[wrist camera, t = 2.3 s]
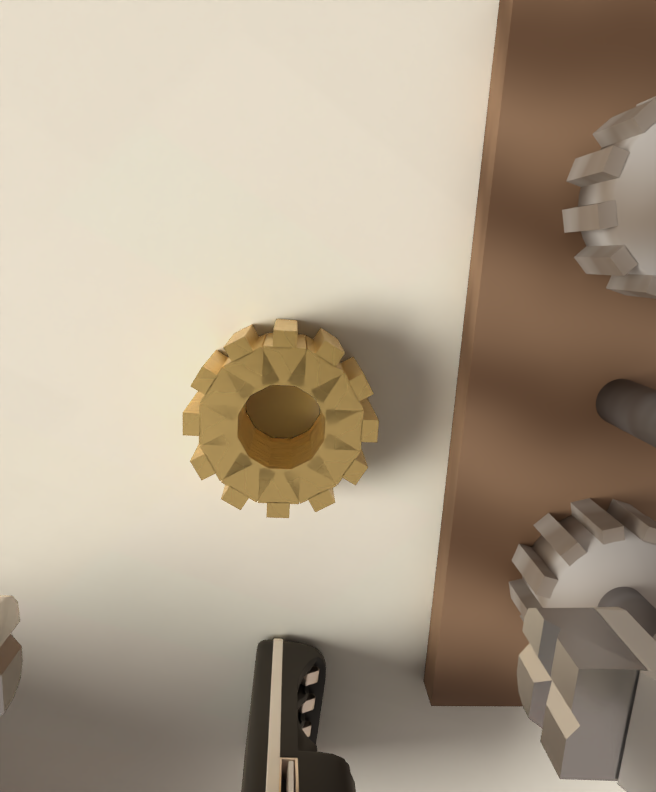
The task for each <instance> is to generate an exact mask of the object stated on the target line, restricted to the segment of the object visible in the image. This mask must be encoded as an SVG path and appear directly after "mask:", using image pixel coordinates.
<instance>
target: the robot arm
mask: <svg viewBox="0 0 656 792" xmlns="http://www.w3.org/2000/svg"><path fill="white" fill-rule="evenodd" d="M19 622H20V616H19V606H18V601H17V600H16V599H15V598H14V597H13V596H10V595H0V715H2V714H4V713H5V711H6V709H7V708H8V706H9V705H10V703H11V701H12V700H13V698H14V696H15V693H16V690H17V687H18V684H19V681H20V678H21V671H22V662H23V659H22V646H21V645H20V644H19V643H18V642H17V640H16V639H15V638H14V637H13V636H12V635H11V632H12V631H13V630H14V628H15V627H16V626H17V625H18V623H19ZM522 631H523V633H524V634H525V636H526V638H527V639H528V641H529V644H528V645H527V647H526V648H525V649H524V650H523V651H522V652H521V653H520V654H519V657H518V666H517V682H518V692H519V695H520V699H521V702H522V705H523V707H524V710H525V712H526V714H527V716H528V718H529V719H530V720H532V721H533V722H534V723H536V724H537V725H539V726H540V727H541V728H542V735H541V741H540V742H541V743H542V745H543V747H544V749H545V751H546V753H547V755H548V757H549V759H550V761H551V763H552V765H553V767H554V769H555V771H556V773H557V774H558V776H559V778H560V779H577V780H607V781H618V783H617V784H618V785H619V786H620V787H622V788H623V789H624V790H625V791H626V792H656V641H655V640H654V639H653V638H652V637H651V636H650V635H649V634H648V633H647V632H646V631H645V630H644V629H643V628H642V627H641V625H640V624H639V623H638V622H637V621H636V620H635V619H634V618H633V617H632V616H631V615H630V614H629V613H628V612H627V611H626V610H624V609H622V608H619V607H589V608H528V610H527V613H526V615H525V617H524V623H523V630H522Z"/></svg>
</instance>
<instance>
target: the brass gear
mask: <svg viewBox="0 0 656 792" xmlns="http://www.w3.org/2000/svg"><path fill="white" fill-rule="evenodd" d="M297 333H298V330H297V320H287V319H276V322H275V326H274V330H273V333H265V334H263V335H261V336H258V334H257V332H256V330H255V328H254V327H253V325H250V326H248V327H246V328H244V329H242V330H240V331H238V332H236V333H234V334H233V336H232V337H231V338H230V339H229V341H228V342H227V343H226V345H225V346H224V349H225V351H226V353H227V354H228V356H229V357H227V356H225V355H224V354H222V353H220V352H219V351H217V350H216V351H215V352H214V353H213V354H212V356H211V357H210V358H209V359H208V360H207V362H206V363H205V364H204V365H203V367H202V368H201V370H200V371H199V373H198V375H197V376H196V378H195V379H194V381H193V383H192V384H191V387H193V388H194V389H196V390H198V392H197V393H196V395H195V396H194V398H193V399H192V400H191V402H190V403H189V405H188V406H187V407H186V409H185V410H184V412H183V435H191V436H199V445H198V447H197V449H196V451H195V452H194V454H193V456H192V458H191V460H190V462H191V463H192V465H193V467H194V468H195V470H196V472H197V473H198V475H199V477H200V478H201V480H203V479H205V478H207V477H209V476H211V475H213V474H215V473H216V475H217V477H218V478H219V480H220V481H221V480H222V481H221V482H222V483H224V484H225V487H224V491H223V494H222V497H221V499H222V500H224V501H225V502H227V503H229V504H231V505H232V506H234V507H236V508H238V509H240V510H241V509H242V507H243V506H244V504H245V503H246V501H247V500H248V498H250V499H252V500H253V501H255V502H257V501H258V503H267V517H273V518H289V508H290V504H299V502H300V504H301V503H303V502H305V501H307V500H309V502H310V504H311V505H312V507H313V509H314V511H315V512H317V511H319V510H321V509H323V508H325V507H327V506H329V505H331V504H333V503H335V498H334V492H333V487H335V486H336V484H337V485H338V484H339V482H340V481H341V479H342V478H344V479H346V480H347V481H349V482H351V483H352V484H354V485H356V484H357V482H358V481H359V480H360V478H361V477H362V475H363V474H364V472H365V471H366V470H367V468H368V466H367V463H366V460H365V457H364V454H363V451H362V449H361V442H377V437H378V425H379V420H378V418H377V416H376V414H375V412H374V410H373V408H372V406H371V404H370V402H369V400H368V399H367V397H369V396H371V395H373V392H372V390H371V388H370V386H369V384H368V382H367V380H366V378H365V376H364V374H363V372H362V370H361V369H360V367H359V365H358V363H357V362H356V360H355V358H354V357H351V358H349V359H347V360H345V361H343V362H340V360H341V358H342V357H343V355H344V354H345V352H344V350H343V348H342V346H341V345H340V343H339V341H338V339H337V338H336V337H334V336H333V335H331V334H329V333H328V332H326V331H325V330H323V329H322V328H320V329H319V331H318V332H317V334H316V335H315V337H314V338H313V339H311V338H310V337H308V336H307V335H306V336H305V334H297ZM270 385H288V386H296V387H298V388H299V389H301V390H303V391H304V392H306V393H308V394H309V395H311V396H312V397H314V398H315V399H316V401H317V403H318V405H319V407H320V415H319V416H318V418H317V419H316V421H315V422H314V424H313V425H312V427H311V428H310V430H308V431H306V432H304V433H302V434H300V435H298V436H296V437H294V438H292V439H284V438H271V437H269V436H268V435H266V434H264V433H263V432H261V431H259V430H258V429H256V428H255V427H254V425H253V423H252V422H251V420H250V418H249V416H248V414H247V413H246V401H247V400H248V398H249V397H250V395H252V394H254V393H256V392H258V391H260V390H262V389H264V388H266V387H268V386H270Z"/></svg>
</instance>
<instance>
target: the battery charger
mask: <svg viewBox="0 0 656 792" xmlns="http://www.w3.org/2000/svg"><path fill="white" fill-rule="evenodd" d="M325 673H326V667H325V659H324V657H323V655H322V654H321V652H320V651H319V650H317V649H316V648H314V647H312V646H309V645H306V644H302V643H299V642H290V641H283V639H278V638H274V639H273V640H263V641H260V643H259V644H258V647H257V653H256V661H255V670H254V679H253V688H252V697H251V706H250V714H249V723H248V732H247V741H246V750H245V759H244V769H243V779H242V790H241V792H356V791H355V782H354V780H353V777H352V775H351V773H350V767H349V765H348V763H347V762H346V761H345V760H344V759H343V758H341V757H339V756H336V755H334V754H329V753H323V752H317V746H316V739H317V732H318V725H319V718H320V711H321V704H322V697H323V690H324V684H325Z"/></svg>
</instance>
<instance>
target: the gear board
mask: <svg viewBox="0 0 656 792" xmlns="http://www.w3.org/2000/svg"><path fill="white" fill-rule="evenodd" d="M589 607H619V608H622V609H624V610H626V611H627V612H628V613H629V614H630V615H631V616H632V617H633V618H634V619H635V620H636V621H637V622H638V623H639V624H640V625H641V627H642V628H643V629H644V630H645V631H646V632H647V633H648V634H649V635H650V636H651V637H652V638H653V639H654V640H655V641H656V0H500V2H499V11H498V19H497V28H496V37H495V46H494V55H493V64H492V73H491V82H490V91H489V100H488V109H487V118H486V127H485V136H484V145H483V154H482V163H481V172H480V181H479V190H478V199H477V208H476V217H475V226H474V235H473V244H472V253H471V262H470V271H469V280H468V289H467V298H466V307H465V316H464V325H463V333H462V342H461V351H460V360H459V369H458V378H457V387H456V396H455V405H454V414H453V423H452V432H451V441H450V450H449V459H448V468H447V477H446V486H445V495H444V504H443V513H442V522H441V531H440V540H439V549H438V558H437V567H436V576H435V585H434V594H433V603H432V612H431V621H430V630H429V639H428V648H427V656H426V665H425V674H424V684H425V687H426V690H427V694H428V697H429V700H430V704H431V706H523V705H522V702H521V699H520V695H519V692H518V682H517V666H518V657H519V654H520V653H521V652H522V651H523V650H524V649H525V648H526V647H527V645H528V644H529V641H528V639H527V638H526V636H525V634H524V633H523V631H522V630H523V623H524V617H525V615H526V613H527V610H528V608H589Z"/></svg>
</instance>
